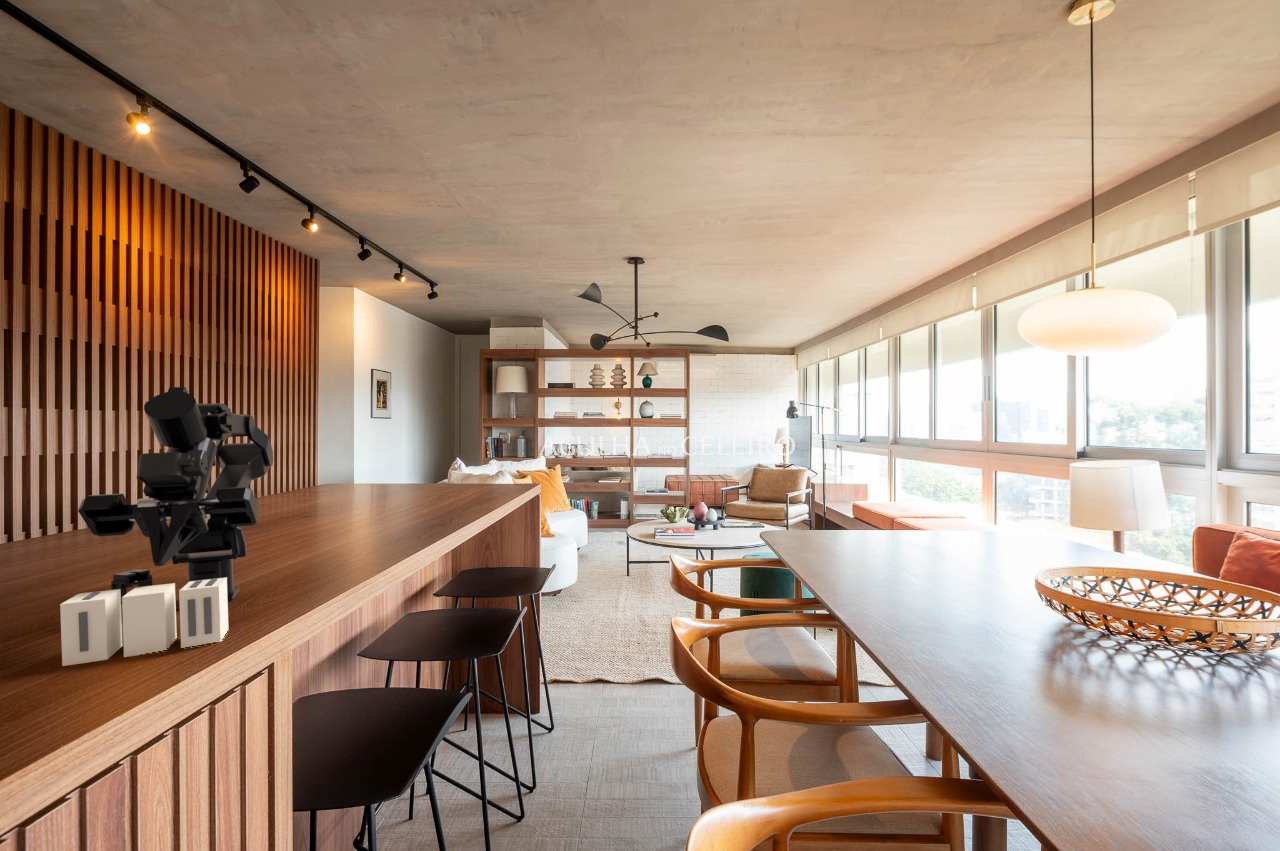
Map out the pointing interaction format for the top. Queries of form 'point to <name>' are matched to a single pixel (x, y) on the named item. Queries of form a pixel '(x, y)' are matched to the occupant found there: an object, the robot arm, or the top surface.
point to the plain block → (149, 619)
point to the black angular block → (131, 580)
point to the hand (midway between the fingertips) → (158, 564)
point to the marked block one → (91, 627)
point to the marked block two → (203, 612)
